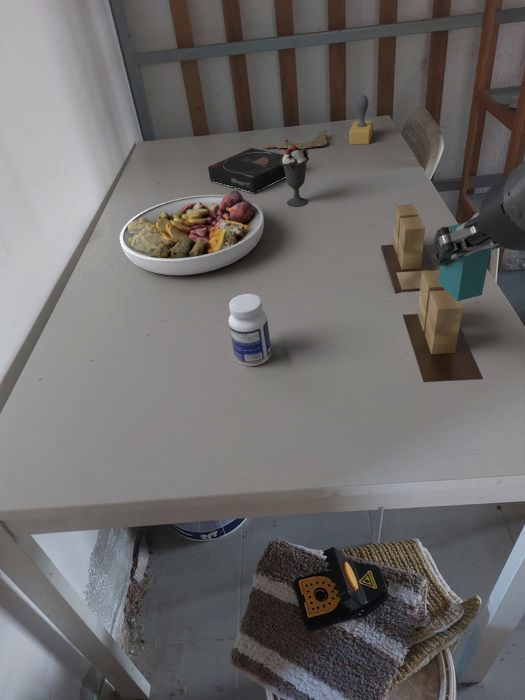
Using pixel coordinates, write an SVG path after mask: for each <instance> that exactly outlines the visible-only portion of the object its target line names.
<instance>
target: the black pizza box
mask: <svg viewBox="0 0 525 700" xmlns="http://www.w3.org/2000/svg"><path fill="white" fill-rule="evenodd" d="M284 155H285V154H282V153H277V152H274V151H269V150H264V149H258V148H254V147H250V148H248V149H246V150H243V151H240V152H239V153H236V154H234V155H232V156H230V157H227V158H225V159H223V160H221V161H218V162H216V163H213V164H211V165H209V166H207V168H208V175H209V181H210V180H211V181H214V182H218V183H222V184H225V185H229V186H233V187H236V188H240V189H243V190H246V191H250V192H253V193H255V192H257V191H258V190H261V189H263V188H265V187H267V186H268V185H270V184H272V183H274V182H276V181H278V180H281V179H282V178H284V177H286V175H285V170H284V166H283V165H281V164H280V159H282V158H283V156H284ZM281 181H282V180H281ZM267 188H268V187H267ZM265 189H266V188H265ZM263 190H264V189H263ZM261 191H262V190H261ZM257 193H258V192H257ZM255 194H256V193H255Z"/></svg>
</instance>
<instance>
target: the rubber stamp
mask: <svg viewBox="0 0 525 700" xmlns="http://www.w3.org/2000/svg"><path fill="white" fill-rule="evenodd" d="M355 105H356V106H355V107H356V110H357V114H358V117H359V120H355V121H353V123H352V125H351V128H350V130H349V144H350V145H369V144H370V143H371V140H372V136H373V133H374V121H373V120H365V116H366V114H367V111H368V108H369V99H368V97H367V95H365V94H361V95H359V96H357V98H356V101H355Z"/></svg>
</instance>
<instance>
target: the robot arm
mask: <svg viewBox="0 0 525 700" xmlns="http://www.w3.org/2000/svg"><path fill="white" fill-rule="evenodd" d="M463 223H464V224H462V225H461V226H459V227H457V229H456V231H455V232H453V230H452V228H450V229H449V226H442V227H440V228H438V229H437V230H436V233H435V236H434V240H433V243H434V245H435V248H436V250H435V251H434V255H435V258H436V262H437V264H439V267H440V266H445V265H448V264H449V263H451V262H452V261H454V260H456V259H458V258H459V257H461V256H463V255H465V256H468V255H473V254H476V253H478V252H480V251H482V250H484V249H488V248H491V250H490V251H496V250H498V249H502V248H505V249H506V250H507V249H508V250H512V251H518V252H519V251H520V252H521V251H525V160H524V161H522V162H521V163H520V164H518V165H517V166H516V167H515V168H513V169H512V170H511V171H509V173H507V174H506V175H505V176H504V177H502V178H501V179H500V180H498V181H497V182H496V183H495V184H494V185H492V186H491V187H490V188H489V189H488V190H487V192H485V195H484V196H483V199H482V202H481V205H480V210H479V211H478V212H476V213H474V214H473V215H472V217H471V219H469V220H468V221H466V223H465V222H463ZM458 242H460V245H461V250H460V247H459V243H458Z"/></svg>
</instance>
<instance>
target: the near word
mask: <svg viewBox="0 0 525 700" xmlns="http://www.w3.org/2000/svg"><path fill="white" fill-rule="evenodd" d="M434 270H435V269H434ZM439 273H440V269H439V270H438V269H436V270H435V271H422V277H421V286H420V291H419V294H418V304H417V313H410V314H409V313H408V314H402V318H403V321H404V324H405V328H406V330H407V334H408V337H409V340H410V345H411V347H412V350H413V353H414V356H415V357H414V358H415V360H416V363H417V366H418V369H419V372H420V375H421V379H422V382H423V383H434V382H437V383H438V382H453V381H455V382H456V381H472V380H473V381H474V380H475V381H476V380H484V377H483V375H482V374H481V373H482V372H481V371H480V369H479V366H478V364H477V362H476V359H475V357H474V355H473V353H472V351H471V348H470V346H469V343H468V341H467V339H466V338H465V335H464V333H463V330H462V329H461V321H462V315H463V310H464V307H463V305H462V303H461V301H457V300H456V299H454V298H453V297H452V296H451V295H450V294H449V293H448V292H447V291H446V290H445V289H444V288H443V287H441V286H440V285H439V284H438V281H439Z"/></svg>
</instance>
